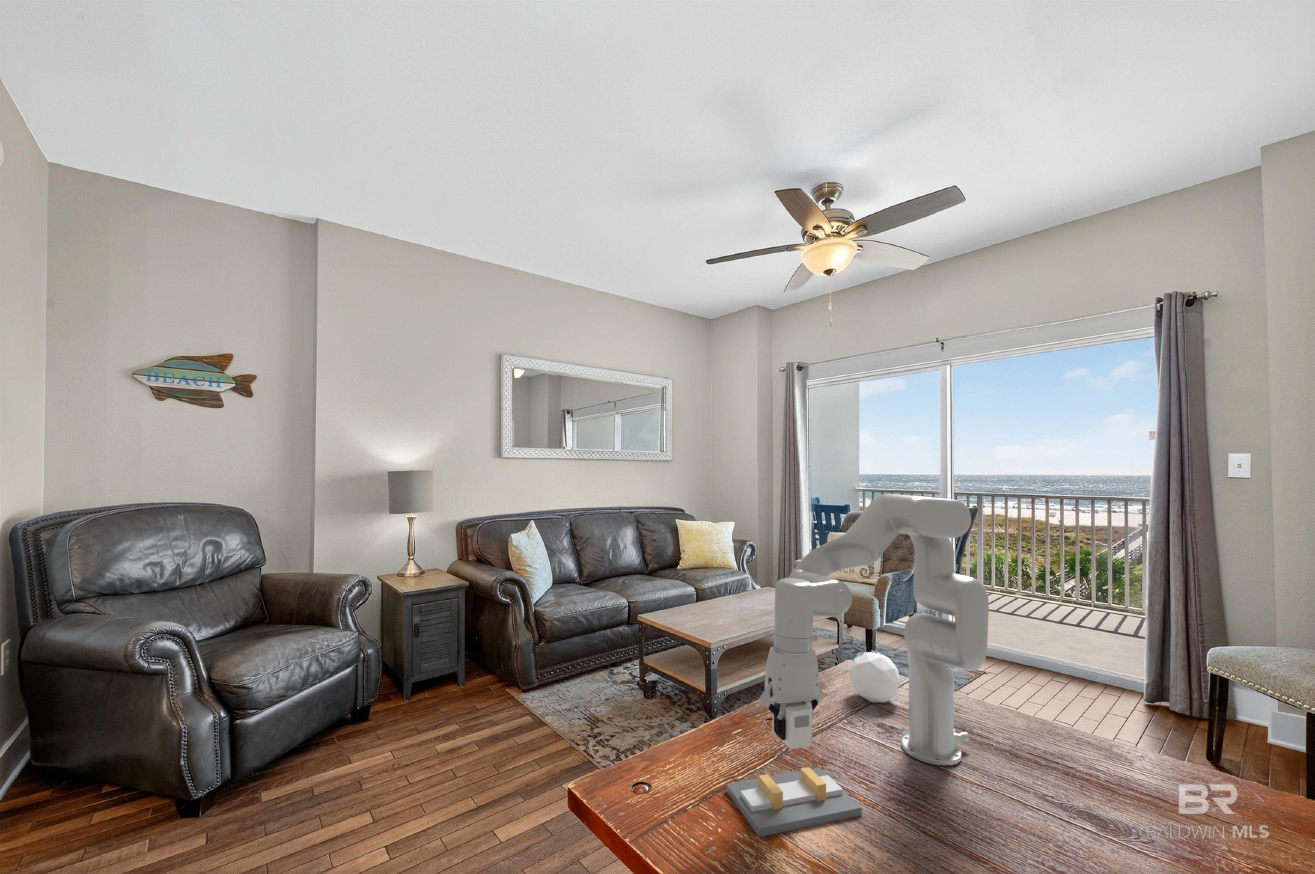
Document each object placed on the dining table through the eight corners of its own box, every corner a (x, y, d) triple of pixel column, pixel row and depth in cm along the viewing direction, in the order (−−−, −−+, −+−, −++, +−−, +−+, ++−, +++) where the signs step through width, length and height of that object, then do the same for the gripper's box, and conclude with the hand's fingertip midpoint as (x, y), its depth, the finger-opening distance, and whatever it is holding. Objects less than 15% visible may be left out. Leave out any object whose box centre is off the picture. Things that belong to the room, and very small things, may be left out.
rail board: (819, 774, 118) (819, 753, 118) (861, 815, 105) (861, 791, 105) (726, 791, 111) (726, 768, 112) (758, 836, 98) (759, 811, 98)
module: (792, 728, 113) (792, 694, 113) (812, 746, 106) (812, 709, 106) (772, 731, 111) (773, 696, 111) (791, 749, 104) (791, 712, 105)
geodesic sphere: (840, 685, 151) (872, 648, 150) (833, 667, 164) (862, 632, 163) (883, 721, 149) (916, 684, 148) (872, 700, 162) (902, 665, 161)
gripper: (819, 633, 115) (817, 721, 115) (746, 639, 110) (744, 731, 110) (841, 645, 108) (839, 739, 107) (764, 651, 103) (762, 750, 102)
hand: (791, 734), depth 108 cm, fingers closed on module, 4 cm apart
